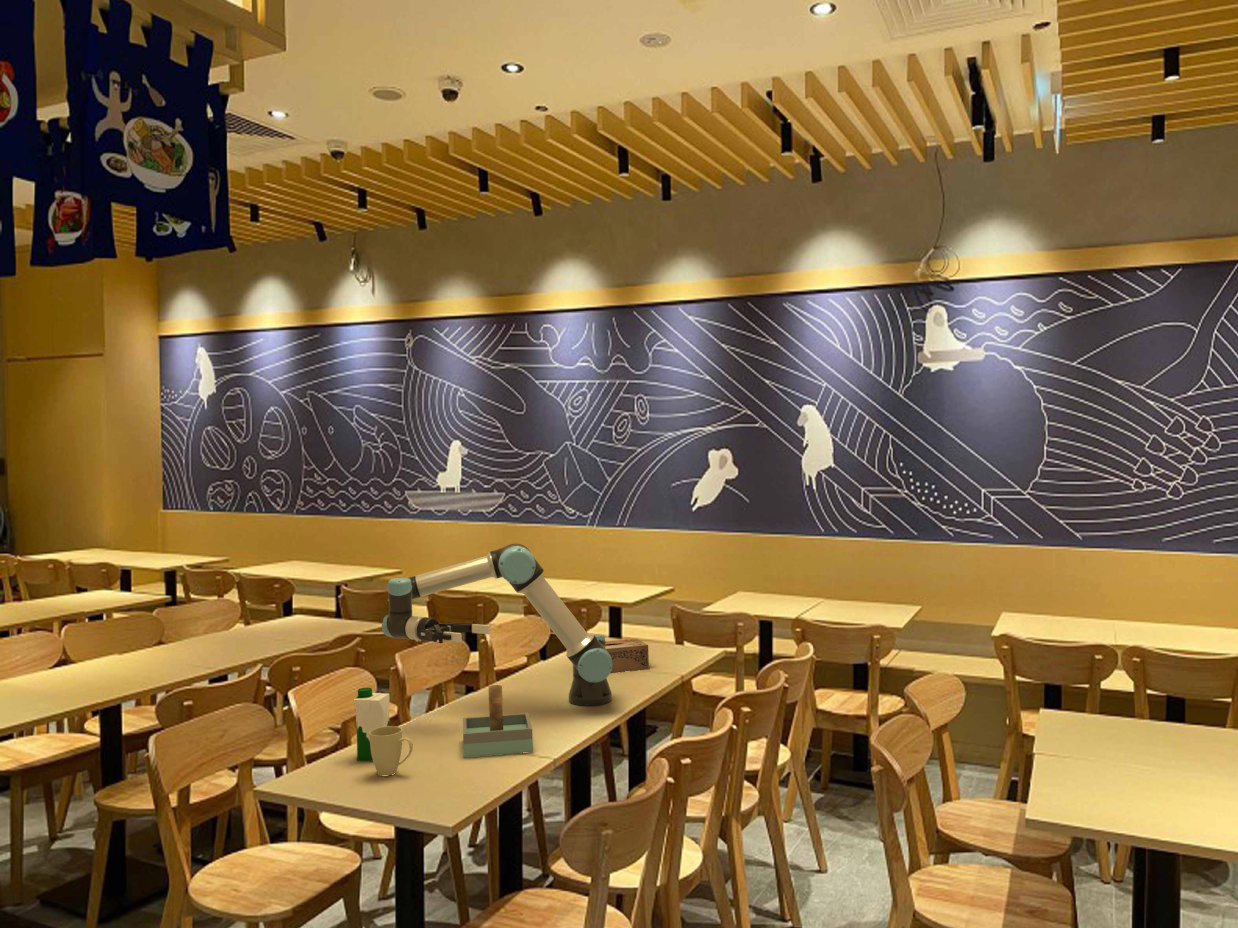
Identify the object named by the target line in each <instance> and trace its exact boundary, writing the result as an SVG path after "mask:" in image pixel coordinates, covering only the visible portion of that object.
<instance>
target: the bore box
mask: <svg viewBox="0 0 1238 928" xmlns="http://www.w3.org/2000/svg"><path fill="white" fill-rule="evenodd" d="M462 735H463V736H462V741H463V742H462V743H463V759H469V758H468V757H471V758H479V757H478V756H484V757H491V756H490V755H496V756H501V755H500V754H509V755H513V754H512V753H521V754H524V753H523V752H533V753H534V747H533V745H534V743H533V741H534V740H533V726H532V723H531V718H530V715H529V712H524V713H511V714H510V713H509V714H503V730H497V731H490V717H489V715H487V716H486V715H483V716H473V717H472V716H471V717H469V716H468V717H463V718H462Z"/></svg>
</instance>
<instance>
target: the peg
mask: <svg viewBox="0 0 1238 928" xmlns="http://www.w3.org/2000/svg"><path fill="white" fill-rule="evenodd" d="M503 708H504V706H503V685H500V684H494V685H489V686H488V714H489V715H488V716H489V717H490V731H497V730H503V715H504V711H503V710H504V709H503Z"/></svg>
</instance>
